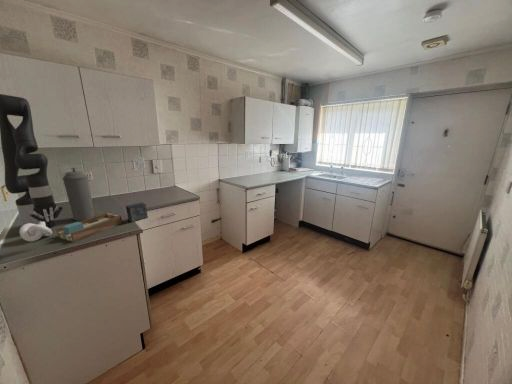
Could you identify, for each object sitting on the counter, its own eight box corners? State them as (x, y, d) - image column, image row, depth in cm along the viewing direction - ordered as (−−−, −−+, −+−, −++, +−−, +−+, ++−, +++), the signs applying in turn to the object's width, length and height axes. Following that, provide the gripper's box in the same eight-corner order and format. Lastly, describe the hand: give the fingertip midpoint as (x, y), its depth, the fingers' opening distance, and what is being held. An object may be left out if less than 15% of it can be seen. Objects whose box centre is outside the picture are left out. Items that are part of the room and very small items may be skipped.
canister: (68, 222, 134) (55, 169, 125) (78, 215, 146) (67, 166, 137) (91, 220, 138) (79, 168, 129) (99, 214, 149) (89, 166, 140)
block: (64, 233, 114) (62, 226, 112) (78, 228, 120) (77, 221, 119) (69, 234, 112) (67, 227, 111) (84, 229, 118) (82, 223, 117)
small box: (144, 215, 147) (142, 201, 144) (148, 218, 143) (146, 203, 140) (127, 220, 139) (125, 205, 136) (131, 222, 135) (129, 207, 132)
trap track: (58, 237, 115) (56, 229, 114) (107, 219, 139) (106, 213, 138) (74, 242, 110) (71, 233, 109) (122, 223, 134) (121, 216, 133)
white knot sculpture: (60, 232, 120) (56, 218, 118) (40, 243, 109) (36, 227, 107) (40, 233, 120) (36, 218, 118) (18, 243, 109) (13, 227, 106)
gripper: (53, 191, 109) (62, 221, 113) (18, 197, 97) (29, 231, 101) (62, 192, 106) (70, 223, 110) (27, 199, 94) (38, 234, 98)
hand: (50, 227), depth 106 cm, fingers closed
